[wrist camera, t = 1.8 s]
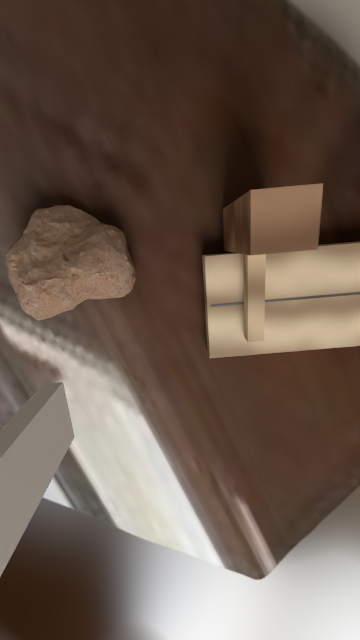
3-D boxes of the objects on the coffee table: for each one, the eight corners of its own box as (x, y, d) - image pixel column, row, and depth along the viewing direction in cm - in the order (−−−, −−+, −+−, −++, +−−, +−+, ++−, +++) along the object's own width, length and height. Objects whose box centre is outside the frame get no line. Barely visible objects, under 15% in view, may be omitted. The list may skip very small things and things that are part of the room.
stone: (39, 285, 32) (28, 346, 25) (-12, 215, 25) (-46, 274, 18) (134, 260, 33) (147, 312, 26) (110, 186, 26) (120, 231, 19)
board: (202, 255, 29) (204, 256, 26) (409, 237, 29) (431, 236, 26) (207, 349, 32) (209, 358, 30) (391, 334, 32) (409, 341, 30)
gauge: (222, 204, 27) (250, 181, 17) (268, 200, 27) (323, 175, 17) (226, 330, 31) (250, 372, 21) (265, 327, 31) (308, 367, 21)
